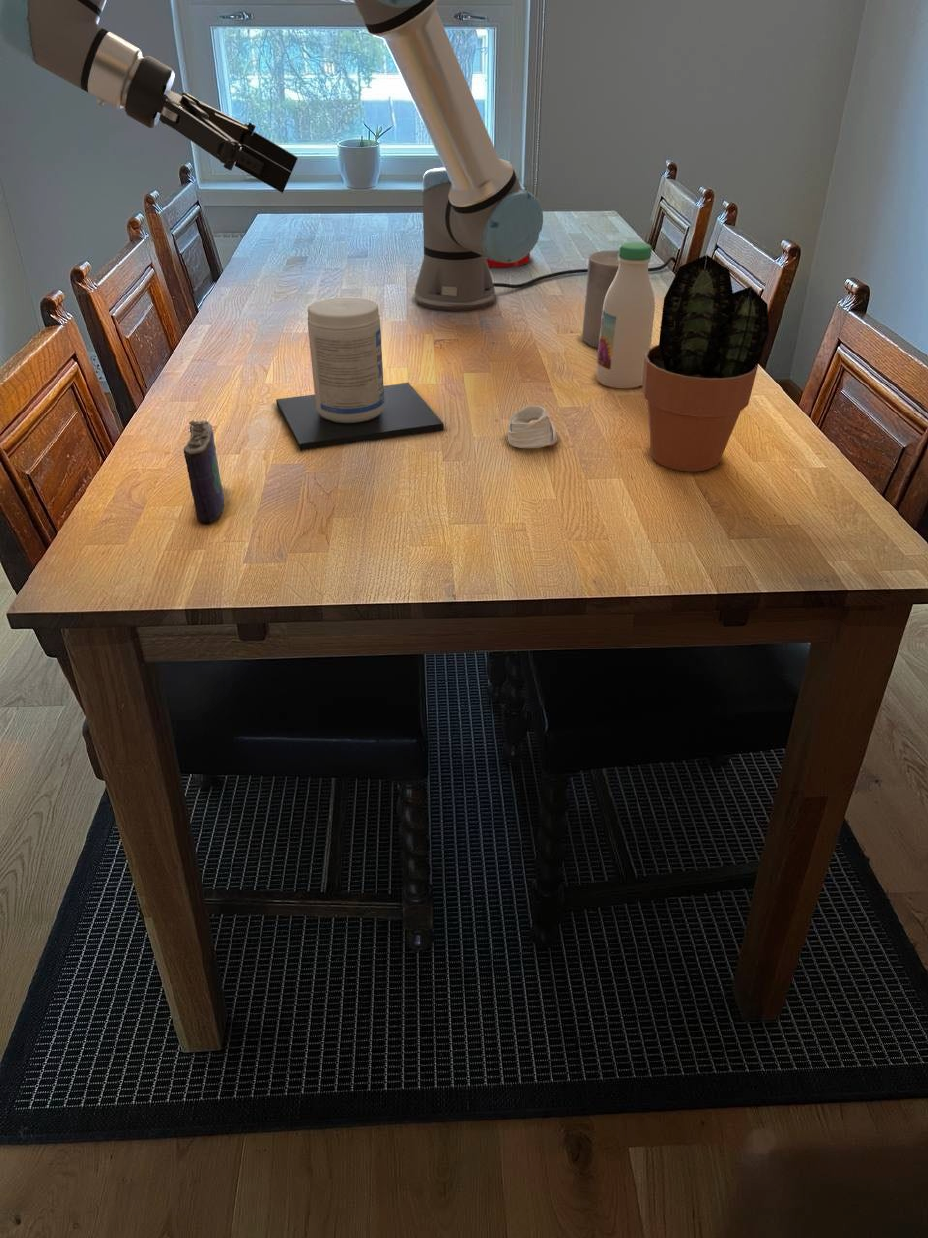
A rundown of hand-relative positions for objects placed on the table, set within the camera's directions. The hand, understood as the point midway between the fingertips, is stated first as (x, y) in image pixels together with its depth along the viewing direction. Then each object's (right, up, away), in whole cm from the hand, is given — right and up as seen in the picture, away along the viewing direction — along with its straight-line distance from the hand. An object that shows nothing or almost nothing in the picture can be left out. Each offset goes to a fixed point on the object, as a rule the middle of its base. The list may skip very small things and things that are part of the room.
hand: (291, 174), depth 122 cm
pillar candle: (+48, -12, +35) cm, 60 cm away
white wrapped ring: (+32, -36, +1) cm, 48 cm away
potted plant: (+52, -38, -2) cm, 65 cm away
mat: (+8, -31, +7) cm, 33 cm away
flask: (-7, -46, -14) cm, 49 cm away
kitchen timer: (+30, +19, +78) cm, 86 cm away
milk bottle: (+47, -22, +20) cm, 56 cm away
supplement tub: (+7, -30, +6) cm, 32 cm away
